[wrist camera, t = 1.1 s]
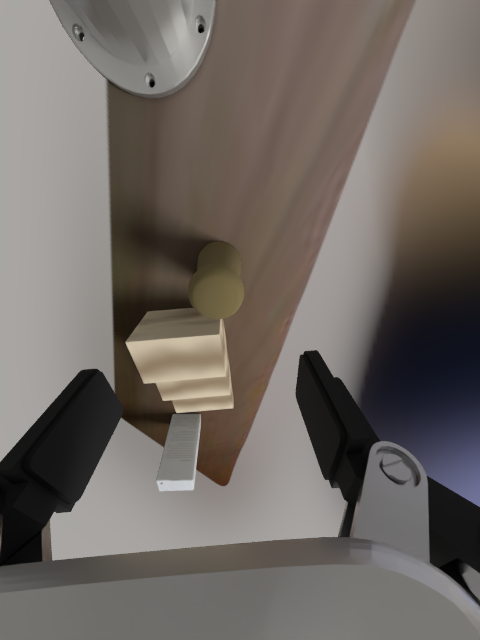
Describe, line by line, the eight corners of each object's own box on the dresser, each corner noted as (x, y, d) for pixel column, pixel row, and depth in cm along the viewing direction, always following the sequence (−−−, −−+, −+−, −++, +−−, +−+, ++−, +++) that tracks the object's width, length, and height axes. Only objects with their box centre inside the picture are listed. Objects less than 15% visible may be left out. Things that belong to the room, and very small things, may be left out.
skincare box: (174, 424, 44) (157, 492, 34) (172, 412, 42) (154, 481, 32) (201, 424, 45) (193, 491, 35) (201, 413, 43) (193, 480, 32)
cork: (206, 291, 28) (195, 336, 19) (189, 248, 25) (167, 277, 16) (247, 279, 28) (257, 320, 18) (235, 235, 25) (239, 256, 15)
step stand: (147, 311, 30) (125, 342, 23) (221, 305, 30) (219, 334, 23) (179, 401, 40) (170, 439, 34) (233, 397, 40) (234, 434, 34)
